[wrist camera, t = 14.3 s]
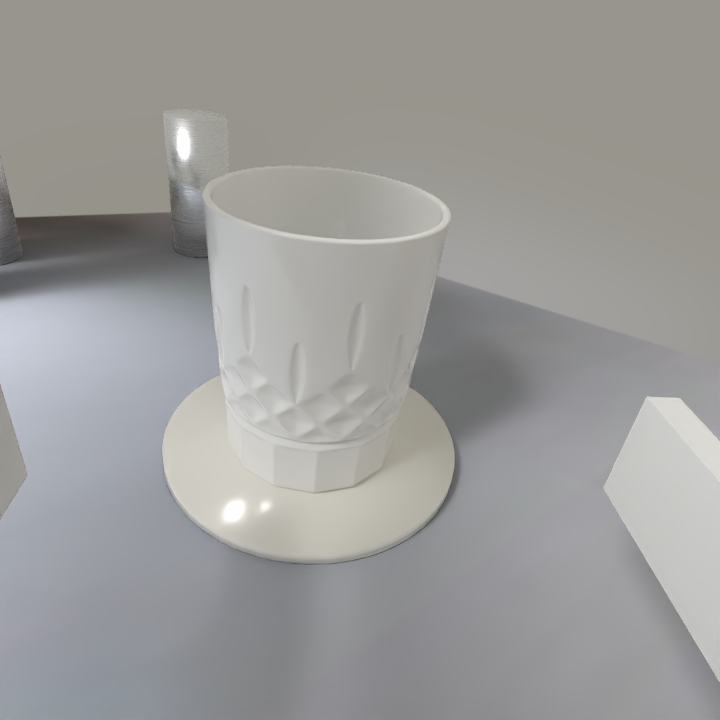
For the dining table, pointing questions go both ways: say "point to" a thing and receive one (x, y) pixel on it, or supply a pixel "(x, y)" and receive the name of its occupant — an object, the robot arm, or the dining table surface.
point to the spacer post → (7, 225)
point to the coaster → (299, 508)
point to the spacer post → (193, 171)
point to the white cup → (318, 315)
